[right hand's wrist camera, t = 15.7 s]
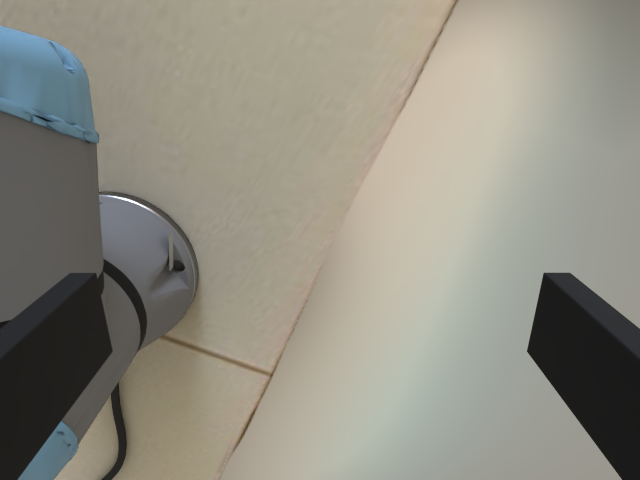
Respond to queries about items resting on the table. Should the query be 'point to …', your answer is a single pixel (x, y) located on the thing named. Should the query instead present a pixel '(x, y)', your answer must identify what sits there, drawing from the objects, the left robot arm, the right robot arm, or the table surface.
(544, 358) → the right robot arm
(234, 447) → the table surface
